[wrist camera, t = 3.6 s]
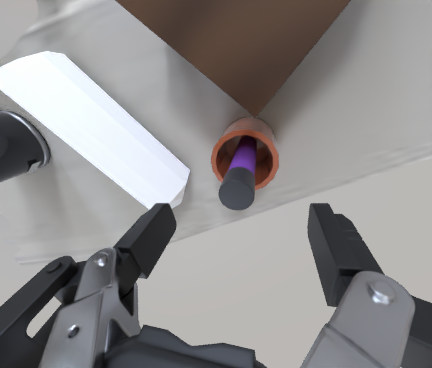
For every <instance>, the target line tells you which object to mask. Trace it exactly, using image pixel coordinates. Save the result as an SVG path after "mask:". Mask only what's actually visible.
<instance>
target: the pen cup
mask: <svg viewBox="0 0 432 368" xmlns="http://www.w3.org/2000/svg"><path fill="white" fill-rule="evenodd" d="M245 136H251V137H253V138H254V139H255V140H256V142H257V152H256V164H255V176H254V177H255V190H257V189H260V188H263V187H264V186H266V185H267V184H268V183H269V182H270V181H271V180H272V179H273V178H274V176H275V174H276V172H277V170H278V167H279V155H278V150H277V145H276V140H275V136H274V134H273V132H272V130H271V128H270V127H269V126H268V125H267V124H266V123H265V122H264V121H262V120H260V119H258V118H253V117H245V118H241V119H238V120H237V121H235V122H233V123H232V124H231V125H230V126H229V127H228V128H227V130H226V131H225V132H224V134H223V135H222V137H221V138H220V139H219V141H218V142H217V143H216V145H215V146H214V148H213V152H212V156H211V163H212V169H213V172H214V173H215V175H216V177H217V178H218V180H219V181H220V182H221V183H222V182H223V179H224V177H225V174H226V173H227V171H228V170H229V167H230V164H231V162H232V159H233V157H234V154H235V151H236V149H237V146H238V143H239V141H240V140H241V139H242V138H243V137H245Z"/></svg>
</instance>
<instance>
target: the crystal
mask: <svg viewBox="0 0 432 368" xmlns="http://www.w3.org/2000/svg"><path fill="white" fill-rule="evenodd" d="M0 90H1V91H3V92H4V93H5V94H6V95H8V96H9V97H10V98H11V99H12V100H14V101H15V102H16V103H17V104H19V105H20V106H21V107H22V108H24V109H25V110H26V111H27V112H29V113H30V114H31V115H32V116H34V117H35V118H36V119H37V120H39V121H40V122H41V123H42V124H44V125H45V126H46V127H47V128H49V129H50V130H51V131H52V132H53V133H55V134H56V135H57V136H58V137H60V138H61V139H62V140H63V141H65V142H66V143H67V144H68V145H70V146H71V147H72V148H73V149H75V150H76V151H77V152H78V153H80V154H81V155H82V156H83V157H85V158H86V159H87V160H88V161H90V162H91V163H92V164H93V165H94V166H96V167H97V168H98V169H99V170H101V171H102V172H103V173H104V174H106V175H107V176H108V177H109V178H111V179H112V180H113V181H114V182H116V183H117V184H118V185H119V186H121V187H122V188H123V189H124V190H126V191H127V192H128V193H129V194H131V195H132V196H133V197H134V198H135V199H137V200H138V201H139V202H140V203H142V204H143V205H144V206H145V207H147V208H148V209H149V210H150V209H151V208H152V207H153V206H154V204H156V203H169V204H170V206H171V209H173V208H174V207H176V206H177V205H179V204H180V203H181V202H182V198H183V195H184V191H185V187H186V183H187V180H188V176H189V172H190V170H189V169H188V168H187V167H186V166H185V165H184V164H183V163H182V162H180V161H179V160H178V159H177V158H176V157H175V156H174V155H173V154H172V153H171V152H170V151H169V150H167V149H166V148H165V147H164V146H163V145H162V144H161V143H160V142H159V141H158V140H157V139H155V138H154V137H153V136H152V135H151V134H150V133H149V132H148V131H147V130H146V129H145V128H144V127H142V126H141V125H140V124H139V123H138V122H137V121H136V120H135V119H134V118H133V117H132V116H130V115H129V114H128V113H127V112H126V111H125V110H124V109H123V108H122V107H121V106H120V105H118V104H117V103H116V102H115V101H114V100H113V99H112V98H111V97H110V96H109V95H108V94H107V93H105V92H104V91H103V90H102V89H101V88H100V87H99V86H98V85H97V84H96V83H95V82H93V81H92V80H91V79H90V78H89V77H88V76H87V75H86V74H85V73H84V72H83V71H82V70H80V69H79V68H78V67H77V66H76V65H75V64H74V63H73V62H72V61H71V60H70V59H68V58H67V57H66V56H65V55H64V54H61V53H55V52H49V51H45V52H41V53H38V54H34V55H30V56H27V57H23V58H19V59H17V60H14V61H12V62H10V63H8V64H6V65H4V66H2V67H0Z"/></svg>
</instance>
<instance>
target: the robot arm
mask: <svg viewBox="0 0 432 368" xmlns="http://www.w3.org/2000/svg"><path fill="white" fill-rule="evenodd" d="M49 158H50V155H49V150H48V147H47V145H46V143H45V141H44V139H43V138H42V136H41V135H40V133H39V132H38V131H37V130H36V129H35V127H34V126H33V125H32V124H31V123H29V122H28V121H27V120H26V119H24V118H23V117H21V116H20V115H18V114H16V113H13V112H10V111H1V110H0V182H3V181H5V180H8V179H11V178H13V177H16V176H18V175H21V174H23V173H26V172H28V173H27V175H29V174H31V173H34V172H35V170H36V169H37V168H41V167H43V166H45V165H47V164H48V162H49ZM175 230H176V220H175V217H174V214H173V212H172V209H171V206H170V204H169V203H156V204H154V206H153V207H152V208H151V209H150V210H149V211H148V212H146V213H145V214H143V215H142V216H141V217H140V218H139V219H138V220H137V221H136V223H134V224H133V226H132V227H131V228H130V229H129V230H128V231H127V232H126V233H125V234H124V236H123V237H122V238H121V239H120V240H119V241H118V242H117V243H116V244H115V246H114V247H113V248H105V249H102V250H100V251H98V252H96V253H95V254H94V255H92V256H91V257H90V258H89V259H88V260H87V261H82V262H77V263H76V262H75V261H74V260H73V258H72V257H71V256H63V257H60V258H58V259H56V260H54V261H52V262H51V263H49V264H48V265H47V266H45V267H44V268H43V269H42V270H41V271H40V272H39V273H37V275H35V276H34V277H33V278H32V279H31V280H30V281H29V282H28V283H26V284H25V285H24V286H23V287H22V288H21V289H20V290H18V291H17V292H16V293H15V294H14V295H13V296H12V297H11V298H10V299H8V300H7V301H6V302H5V303H4V304H3V305H2V306H1V307H0V368H267V367H266V366H264V365H263V364H262V363H260V362H258V361H257V360H256V357H255V350H252V349H248V348H243V347H239V346H235V345H230V344H226V343H217V344H208V345H199V346H190V345H188V344H187V343H185V342H184V341H183V340H181V339H180V338H178V337H177V336H175V335H174V334H172V333H171V332H170V331H168V330H165V329H161V328H157V327H152V326H148V325H143V327H142V329H141V328H140V326H139V320H138V289H137V283H136V281H137V279H138V278H144V279H147V278H148V277H149V275H150V273H151V271H152V270H153V268H154V266H155V265H156V263H157V261H158V259H159V258H160V256H161V254H162V252H163V251H164V249H165V248H166V246H167V244H168V243H169V241H170V239H171V237H172V236H173V234H174V232H175ZM308 238H309V242H310V245H311V249H312V252H313V256H314V259H315V263H316V267H317V270H318V274H319V277H320V281H321V284H322V288H323V292H324V295H325V299H326V302H327V305H328V306H332V307H337V308H336V310H335V312H334V314H333V316H332V317H331V319H330V321H329V322H328V323H326V324H325V325H324V327H323V328H322V330H321V332H320V333H319V335H318V337H317V339H316V340H315V342H314V344H313V345H312V347H311V349H310V351H309V353H308V354H307V356H306V358H305V360H304V362H303V363H302V365H301V367H300V368H400V367H402V368H432V303H430V302H427V301H424V300H421V299H419V298H416V297H414V296H412V295H410V294H409V293H408V291H407V290H406V289H405V288H404V287H403V286H402V285H400V284H399V283H398V282H396V281H395V280H393V279H392V278H390V277H388V276H385V274H384V273H383V271H382V270H381V268H380V267H379V265H378V264H377V262H376V260H375V259H374V257H373V256H372V254H371V252H370V250H369V249H368V247H367V246H366V244H365V242H364V241H362V237H361V236H360V234H359V233H358V232H357V230H356V228H355V226H354V225H353V223H352V222H351V221H350V220H349V219H348V218H346V217H345V216H344V215H342V214H334V213H333V211H332V209H331V207H330V205H329V204H328V203H311V204H310V209H309V218H308ZM53 296H55V297H56V298H57V299H58V300H59V301H60V302H61V303H62V304H61V305H60V307H59V308H58V309H57V310H56V311H55V312H54V313H53V315H52V316H51V317H50V318H49V320H48V321H47V322H46V323H45V324H44V325H43V326H42V328H41V329H40V330H39V331H38V332H37V333H36V335H35V336H34V337H33V338H31V337H29V336H28V335H27V333H26V330H27V327H28V325H29V323H30V321H31V320H32V319H33V318H34V317H35V316H36V315H37V314H38V313H39V312H40V311H41V309H42V308H43V307H44V306H45V305H46V304H47V303H48V302H49V301H50V300H51V299H52V298H53Z"/></svg>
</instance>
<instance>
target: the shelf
mask: <svg viewBox="0 0 432 368" xmlns="http://www.w3.org/2000/svg"><path fill="white" fill-rule="evenodd" d="M115 1H117V2H118V3H119V4H120V5H121V6H123V7H124V8H125V9H126V10H127V11H129V12H130V13H131V14H132V15H133V16H135V17H136V18H137V19H138V20H139V21H141V22H142V23H143V24H144V25H145V26H147V27H148V28H149V29H150V30H151V31H152V32H154V33H155V34H156V35H157V36H158V37H160V38H161V39H162V40H163V41H164V42H166V43H167V44H168V45H169V46H170V47H172V48H173V49H174V50H175V51H176V52H178V53H179V54H180V55H181V56H182V57H184V58H185V59H186V60H187V61H188V62H190V63H191V64H192V65H193V66H194V67H195V68H197V69H198V70H199V71H200V72H201V73H203V74H204V75H205V76H206V77H207V78H209V79H210V80H211V81H212V82H213V83H215V84H216V85H217V86H218V87H219V88H221V89H222V90H223V91H224V92H225V93H227V94H228V95H229V96H230V97H231V98H233V99H234V100H235V101H236V102H237V103H239V104H240V105H241V106H242V107H243V108H244V109H246V110H247V111H248V112H249V113H250V114H252V115H253V116H254V117H257V115H258V114H259V113H260V112H261V110H262V109H263V108H264V107H265V105H266V104H267V103H268V102H269V101H270V99H271V98H272V97H273V96H274V94H275V93H276V92H277V91H278V89H279V88H280V87H281V86H282V85H283V83H284V82H285V81H286V80H287V78H288V77H289V76H290V75H291V74H292V72H293V71H294V70H295V69H296V67H297V66H298V65H299V64H300V62H301V61H302V60H303V59H304V58H305V56H306V55H307V54H308V53H309V51H310V50H311V49H312V48H313V46H314V45H315V44H316V43H317V42H318V40H319V39H320V38H321V37H322V35H323V34H324V33H325V32H326V31H327V29H328V28H329V27H330V26H331V24H332V23H333V22H334V21H335V19H336V18H337V17H338V16H339V15H340V13H341V12H342V11H343V10H344V8H345V7H346V6H347V5H348V3H349V2H350V1H351V0H115Z"/></svg>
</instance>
